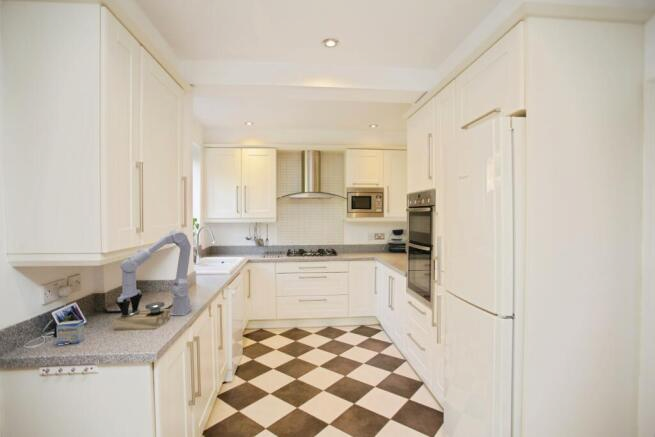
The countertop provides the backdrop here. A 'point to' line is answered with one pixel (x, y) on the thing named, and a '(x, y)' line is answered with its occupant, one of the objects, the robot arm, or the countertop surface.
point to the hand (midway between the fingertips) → (130, 312)
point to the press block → (142, 320)
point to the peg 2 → (155, 307)
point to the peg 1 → (131, 313)
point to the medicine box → (70, 332)
